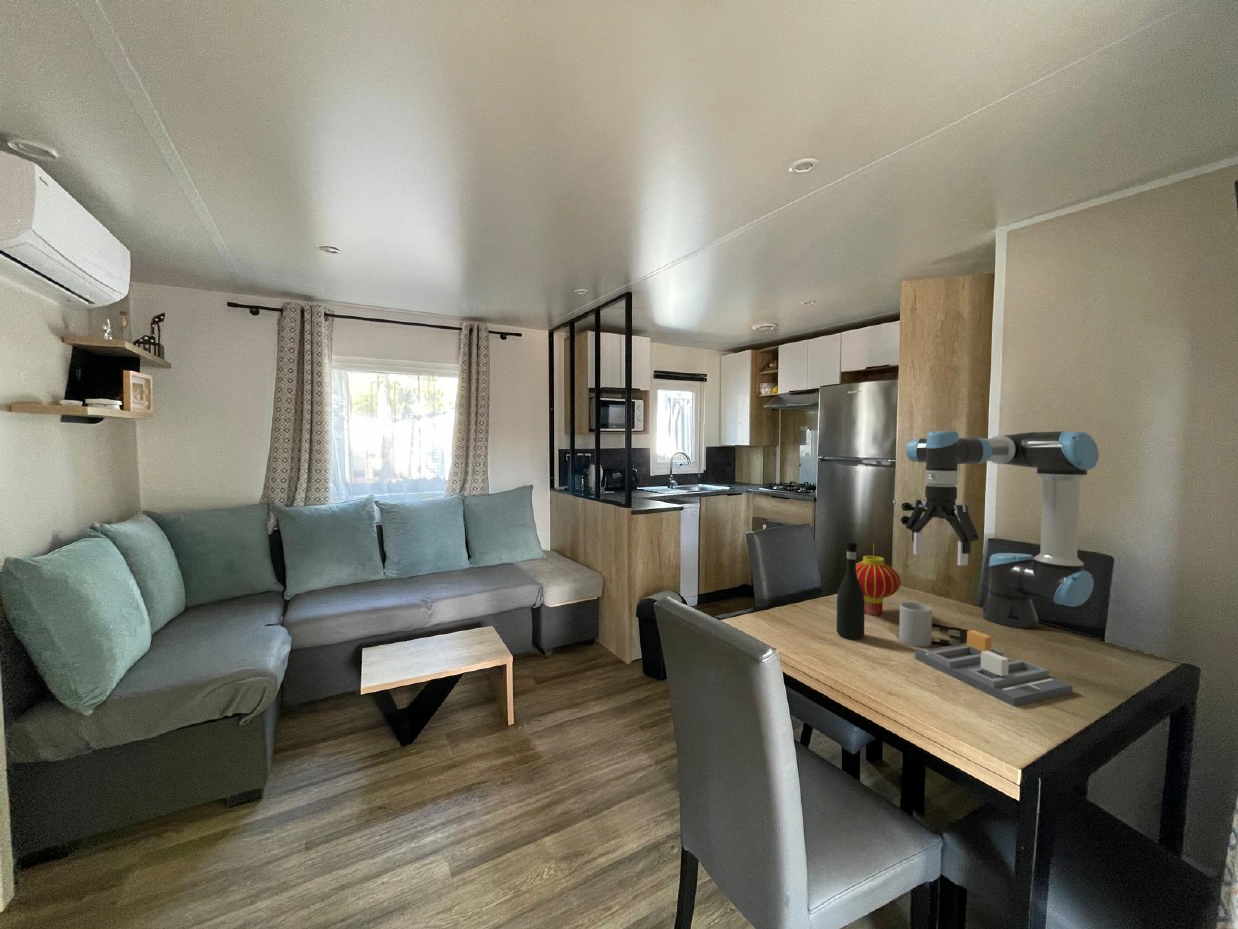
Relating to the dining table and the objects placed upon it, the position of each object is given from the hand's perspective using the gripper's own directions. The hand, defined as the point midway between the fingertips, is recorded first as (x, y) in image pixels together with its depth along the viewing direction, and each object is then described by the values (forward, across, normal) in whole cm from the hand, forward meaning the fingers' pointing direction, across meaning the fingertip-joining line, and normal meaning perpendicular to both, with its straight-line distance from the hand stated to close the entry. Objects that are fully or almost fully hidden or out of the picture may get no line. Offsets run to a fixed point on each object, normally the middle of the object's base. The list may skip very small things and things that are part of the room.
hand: (939, 559), depth 137 cm
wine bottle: (+28, -19, -13) cm, 36 cm away
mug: (+28, -10, +4) cm, 30 cm away
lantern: (+28, -33, +10) cm, 45 cm away
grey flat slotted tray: (+28, +13, +2) cm, 31 cm away
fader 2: (+26, +18, -3) cm, 31 cm away
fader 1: (+26, +7, +7) cm, 28 cm away
